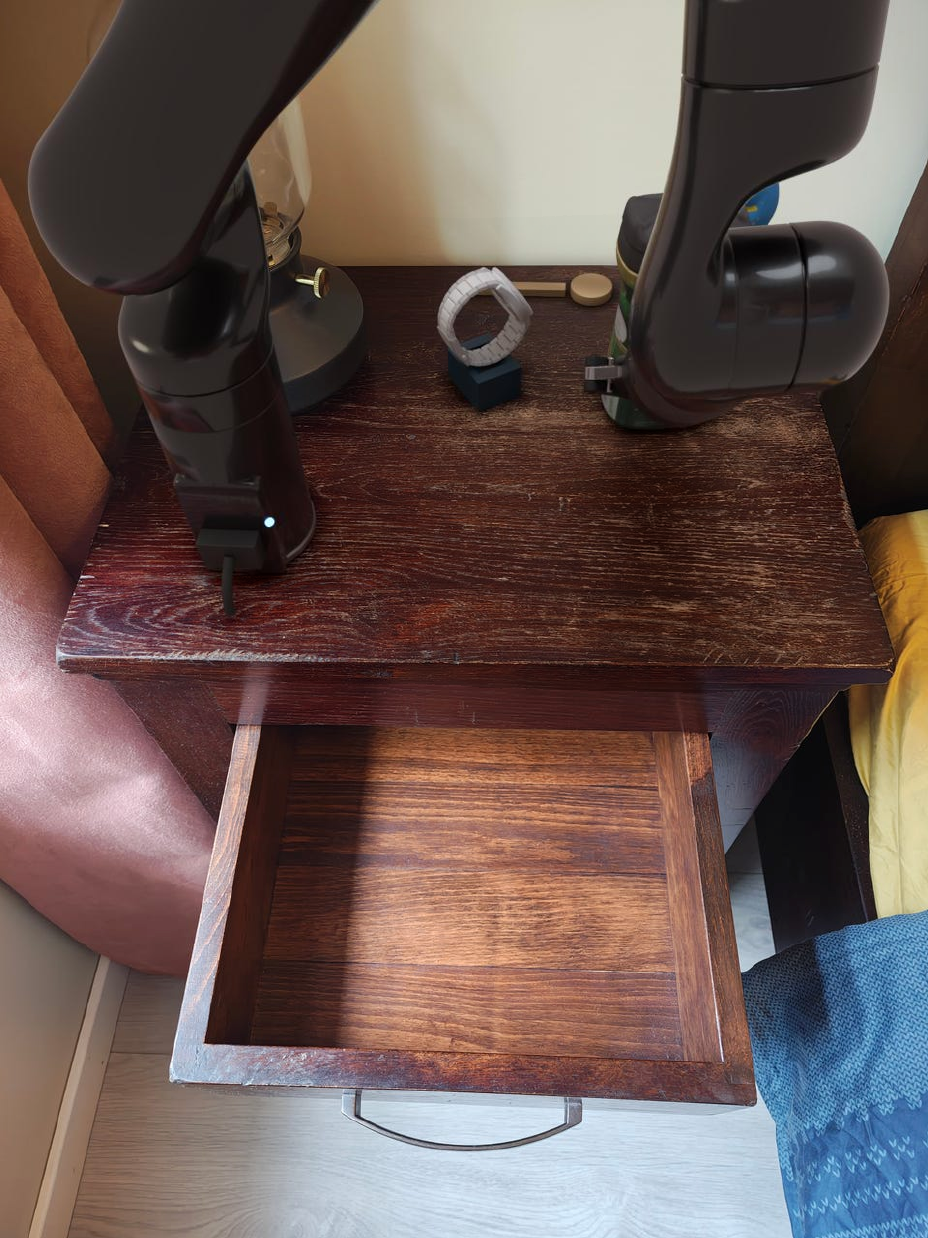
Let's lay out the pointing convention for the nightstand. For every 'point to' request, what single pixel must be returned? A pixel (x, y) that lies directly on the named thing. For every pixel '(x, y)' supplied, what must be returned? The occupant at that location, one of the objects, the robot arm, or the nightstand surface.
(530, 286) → the spoon
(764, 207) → the ornament
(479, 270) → the watch
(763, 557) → the nightstand surface
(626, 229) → the coffee jar
